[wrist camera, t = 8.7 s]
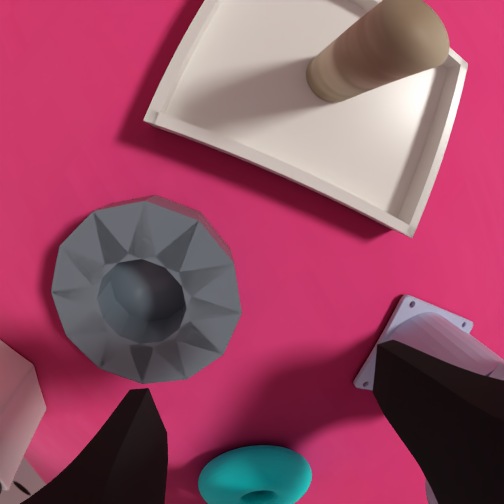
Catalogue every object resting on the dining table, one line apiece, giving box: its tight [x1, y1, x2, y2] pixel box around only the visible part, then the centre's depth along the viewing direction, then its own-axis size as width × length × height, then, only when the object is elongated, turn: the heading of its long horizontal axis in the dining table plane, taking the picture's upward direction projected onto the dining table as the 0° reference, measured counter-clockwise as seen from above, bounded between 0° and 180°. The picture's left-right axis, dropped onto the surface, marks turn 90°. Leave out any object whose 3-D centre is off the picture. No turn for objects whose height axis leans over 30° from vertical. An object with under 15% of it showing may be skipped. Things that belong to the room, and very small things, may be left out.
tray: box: [143, 0, 468, 238], centre depth 16 cm, size 16×13×2 cm
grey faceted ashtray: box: [51, 195, 242, 384], centre depth 17 cm, size 10×10×3 cm
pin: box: [306, 0, 449, 103], centre depth 12 cm, size 3×3×8 cm
